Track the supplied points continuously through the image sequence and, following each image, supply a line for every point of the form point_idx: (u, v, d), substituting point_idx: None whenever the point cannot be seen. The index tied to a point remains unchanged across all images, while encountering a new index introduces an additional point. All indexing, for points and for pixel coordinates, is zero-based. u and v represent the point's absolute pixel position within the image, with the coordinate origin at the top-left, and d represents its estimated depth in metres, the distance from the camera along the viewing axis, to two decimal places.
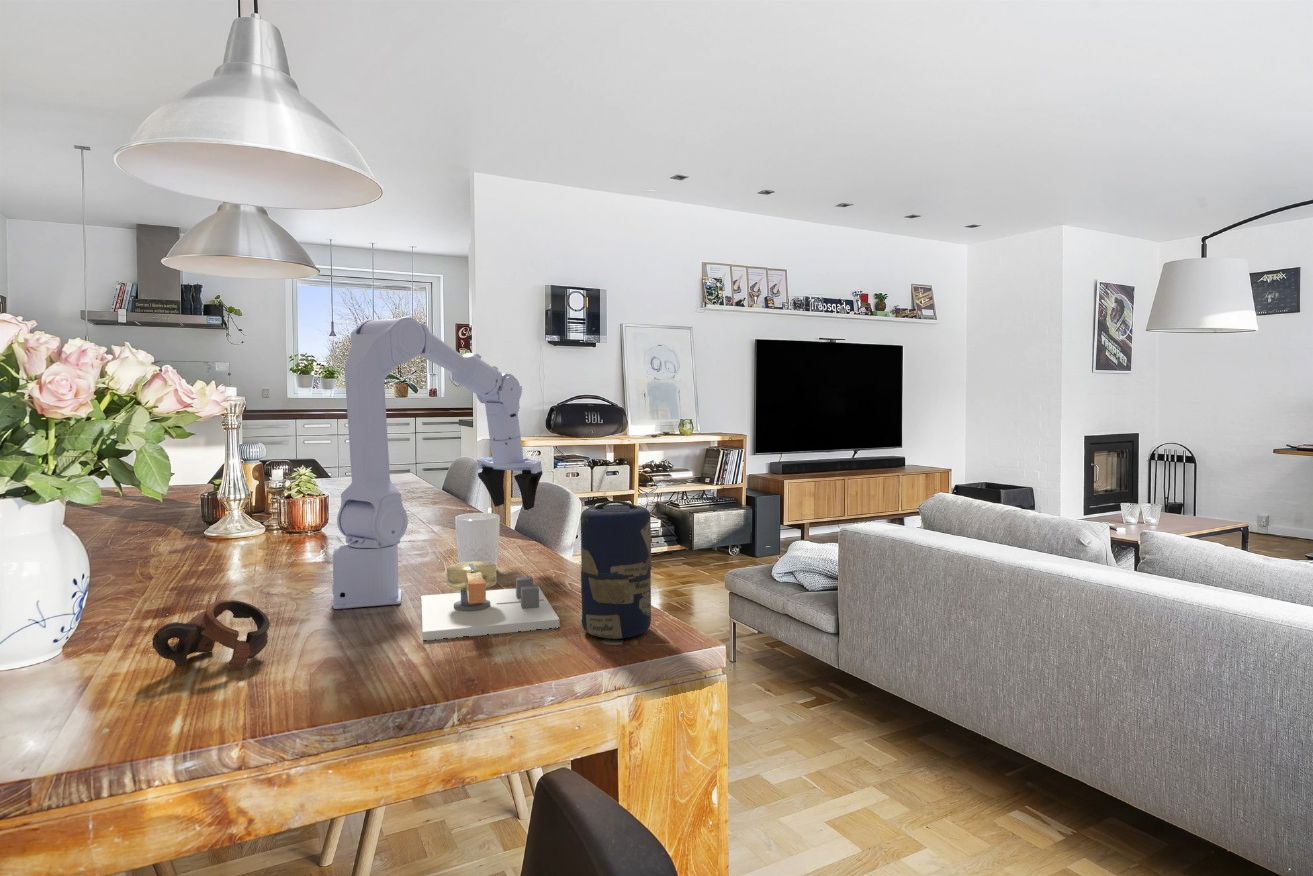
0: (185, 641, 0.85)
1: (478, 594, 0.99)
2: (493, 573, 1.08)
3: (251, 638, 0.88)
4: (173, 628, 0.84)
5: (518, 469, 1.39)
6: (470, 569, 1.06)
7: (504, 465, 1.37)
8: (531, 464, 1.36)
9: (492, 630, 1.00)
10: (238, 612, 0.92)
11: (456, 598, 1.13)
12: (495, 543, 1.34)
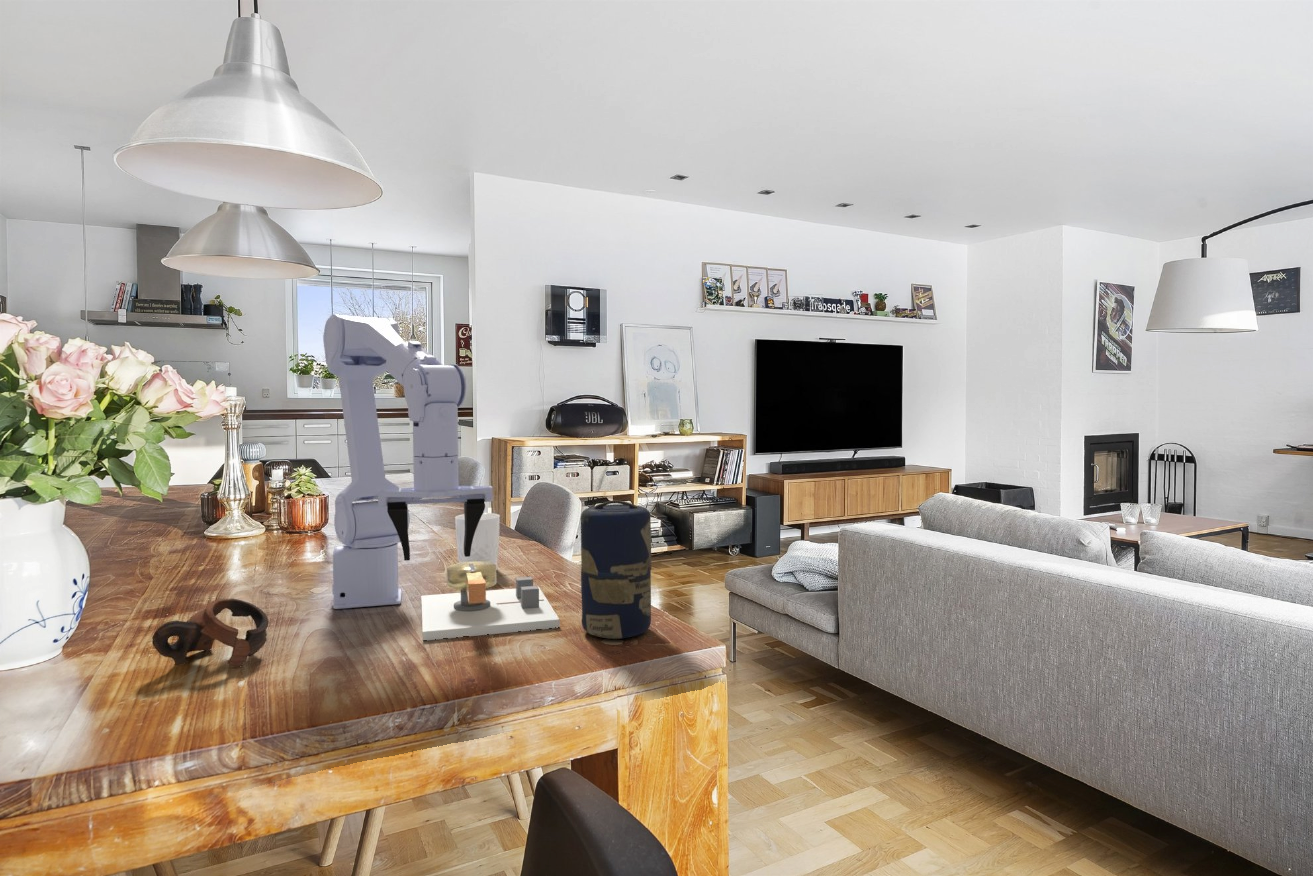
0: (185, 639, 0.86)
1: (478, 594, 0.99)
2: (493, 573, 1.08)
3: (250, 636, 0.88)
4: (173, 626, 0.85)
5: None
6: (470, 569, 1.06)
7: None
8: None
9: (492, 630, 1.00)
10: (237, 610, 0.93)
11: (456, 598, 1.13)
12: (495, 543, 1.34)
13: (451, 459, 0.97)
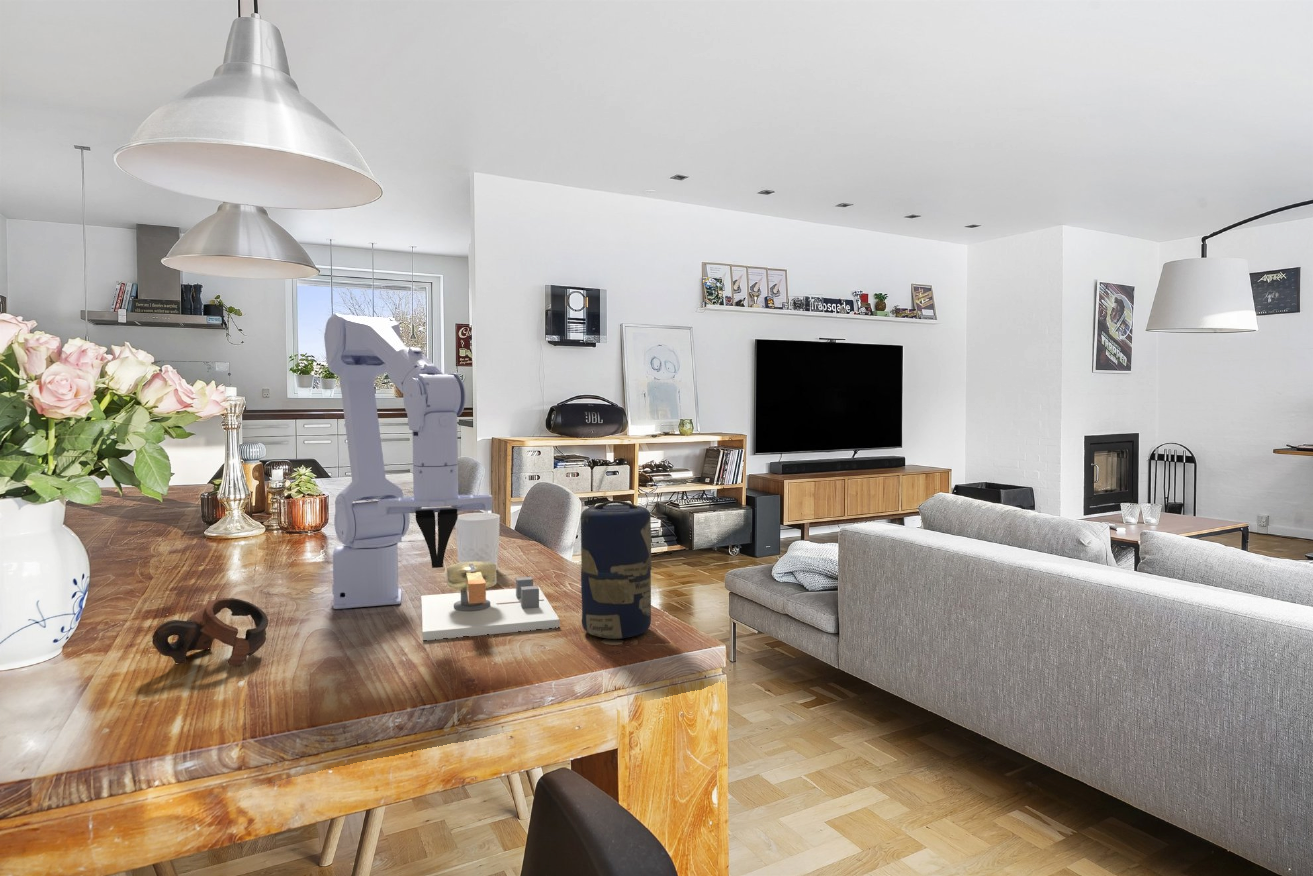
0: (185, 638, 0.86)
1: (478, 594, 0.99)
2: (493, 573, 1.08)
3: (250, 635, 0.89)
4: (173, 625, 0.85)
5: None
6: (470, 569, 1.06)
7: None
8: (383, 500, 0.98)
9: (492, 630, 1.00)
10: (237, 610, 0.93)
11: (456, 598, 1.13)
12: (495, 543, 1.34)
13: (451, 468, 0.97)
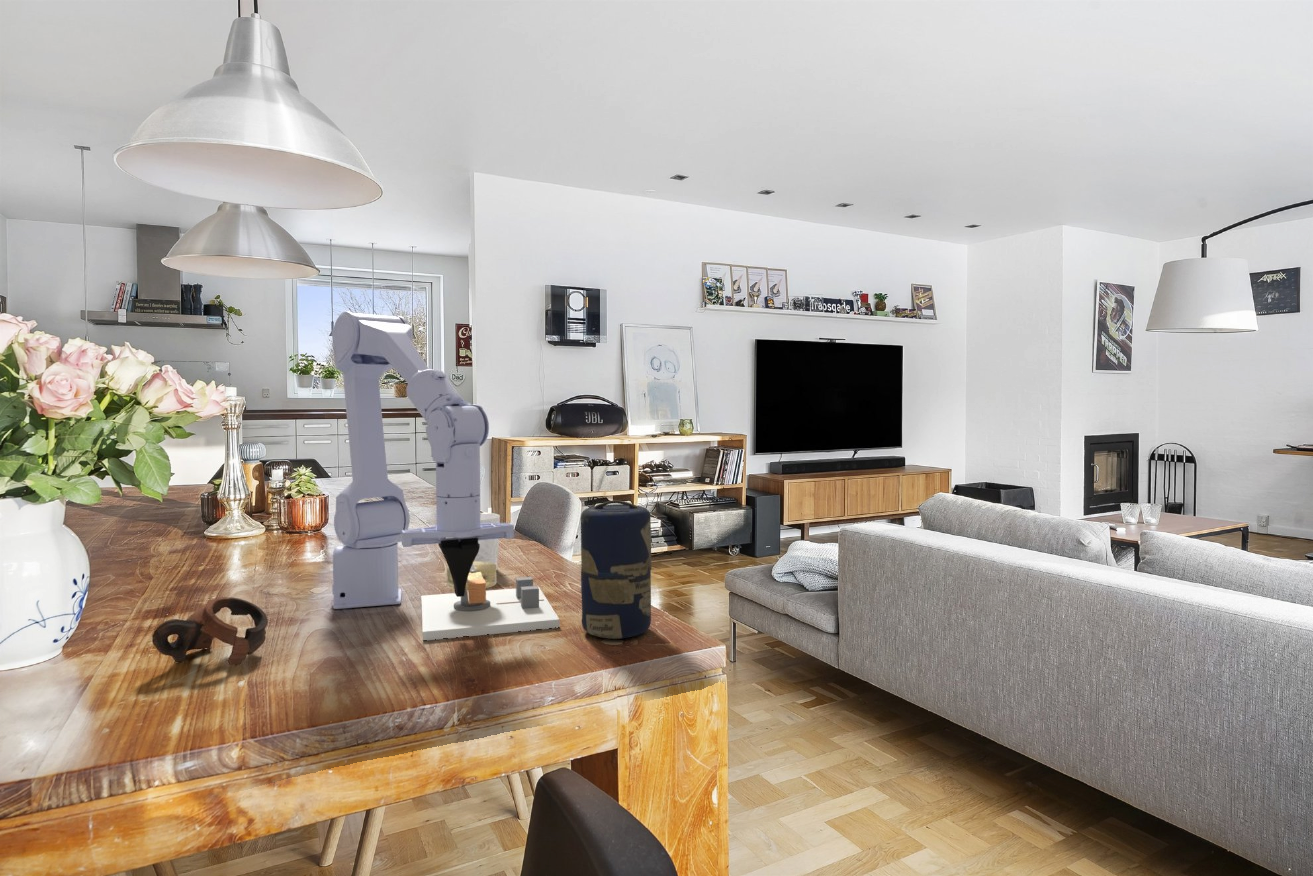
0: (185, 638, 0.86)
1: (478, 594, 0.99)
2: (493, 573, 1.08)
3: (250, 634, 0.89)
4: (173, 624, 0.86)
5: None
6: (470, 569, 1.06)
7: None
8: None
9: (492, 630, 1.00)
10: (236, 609, 0.94)
11: (456, 598, 1.13)
12: (495, 543, 1.34)
13: (475, 499, 0.99)
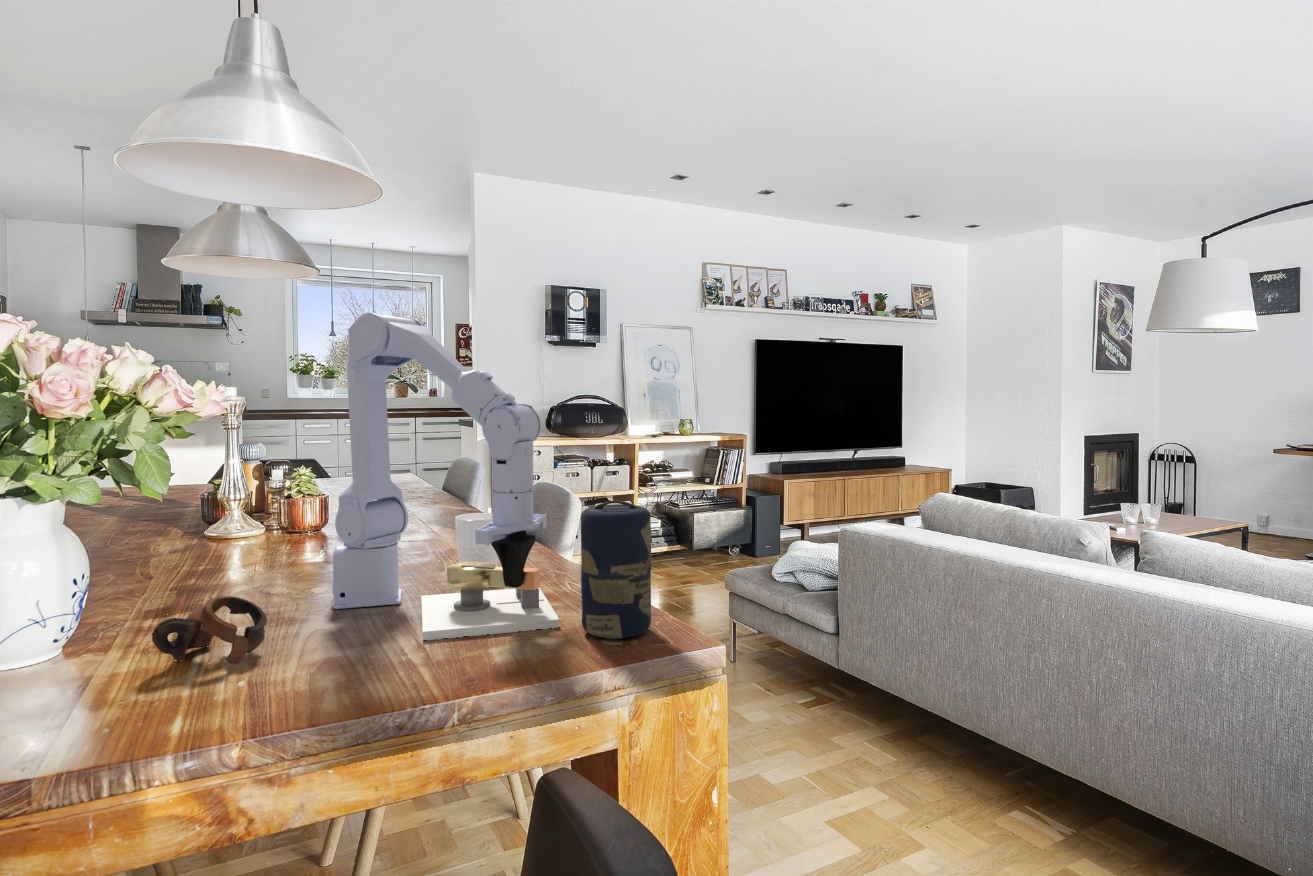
0: (184, 636, 0.87)
1: (537, 580, 1.06)
2: None
3: (249, 633, 0.89)
4: (173, 623, 0.86)
5: None
6: (483, 567, 1.08)
7: None
8: None
9: (492, 630, 1.00)
10: (235, 608, 0.94)
11: (456, 598, 1.13)
12: None
13: None
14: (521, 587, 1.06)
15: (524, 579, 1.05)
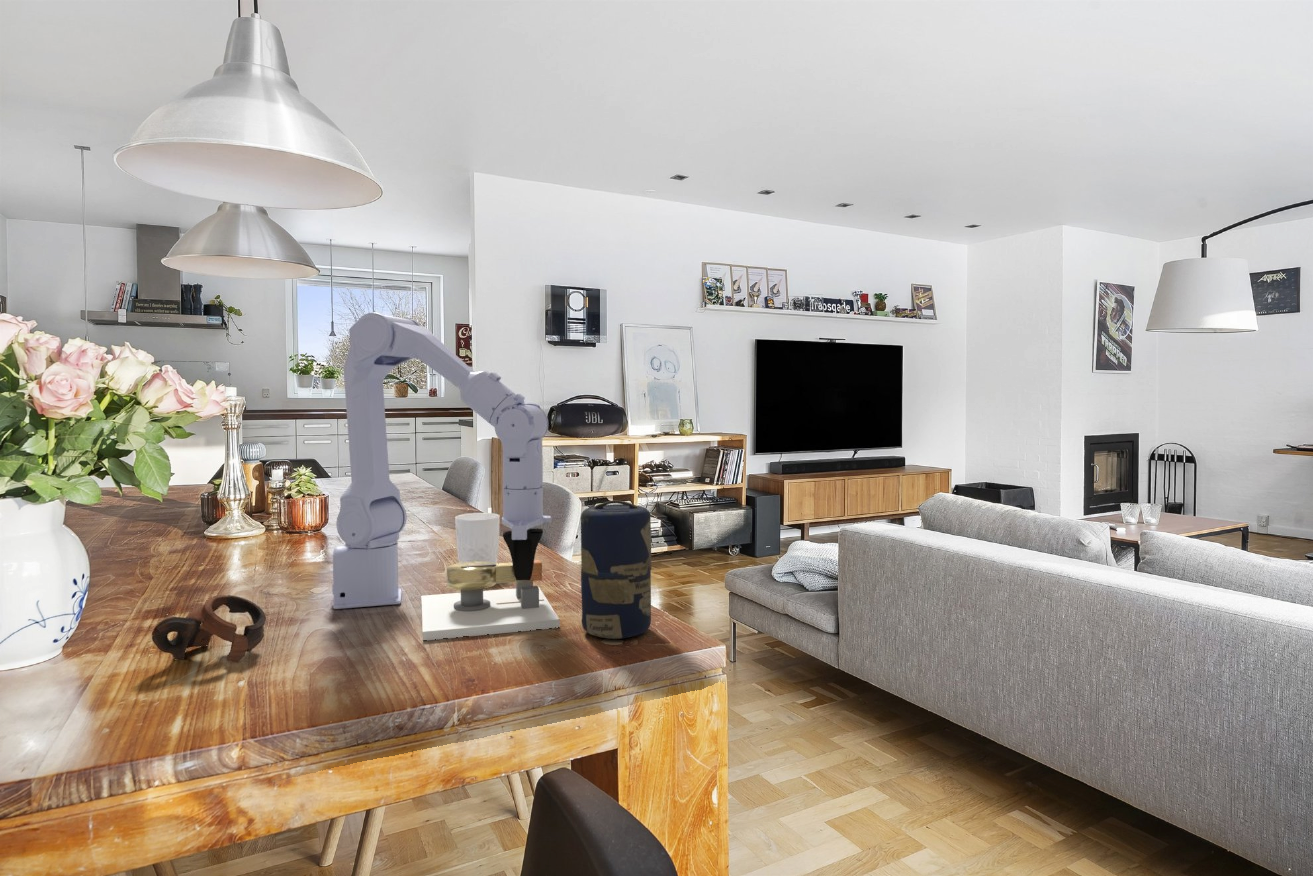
0: (184, 635, 0.87)
1: None
2: None
3: (249, 632, 0.90)
4: (173, 622, 0.87)
5: None
6: (485, 565, 1.09)
7: (503, 521, 1.07)
8: (511, 526, 1.02)
9: (492, 630, 1.00)
10: (234, 607, 0.94)
11: (456, 598, 1.13)
12: (495, 543, 1.34)
13: None
14: None
15: (532, 571, 1.10)
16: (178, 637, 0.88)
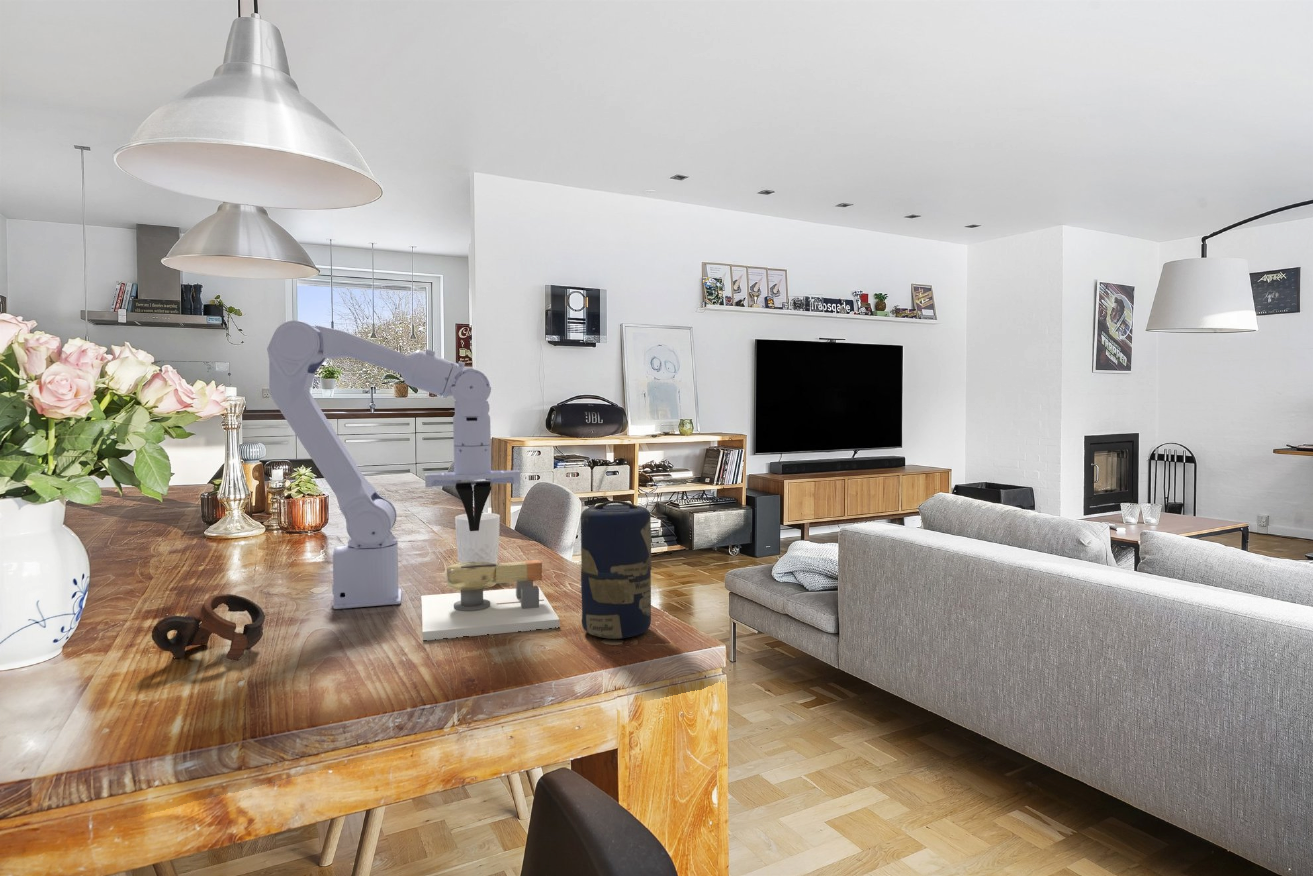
0: (184, 633, 0.88)
1: None
2: None
3: (248, 630, 0.90)
4: (172, 620, 0.87)
5: None
6: (485, 565, 1.09)
7: None
8: None
9: (492, 630, 1.00)
10: (233, 606, 0.95)
11: (456, 598, 1.13)
12: (495, 543, 1.34)
13: (485, 448, 1.17)
14: (529, 579, 1.10)
15: (532, 571, 1.10)
16: (178, 636, 0.89)
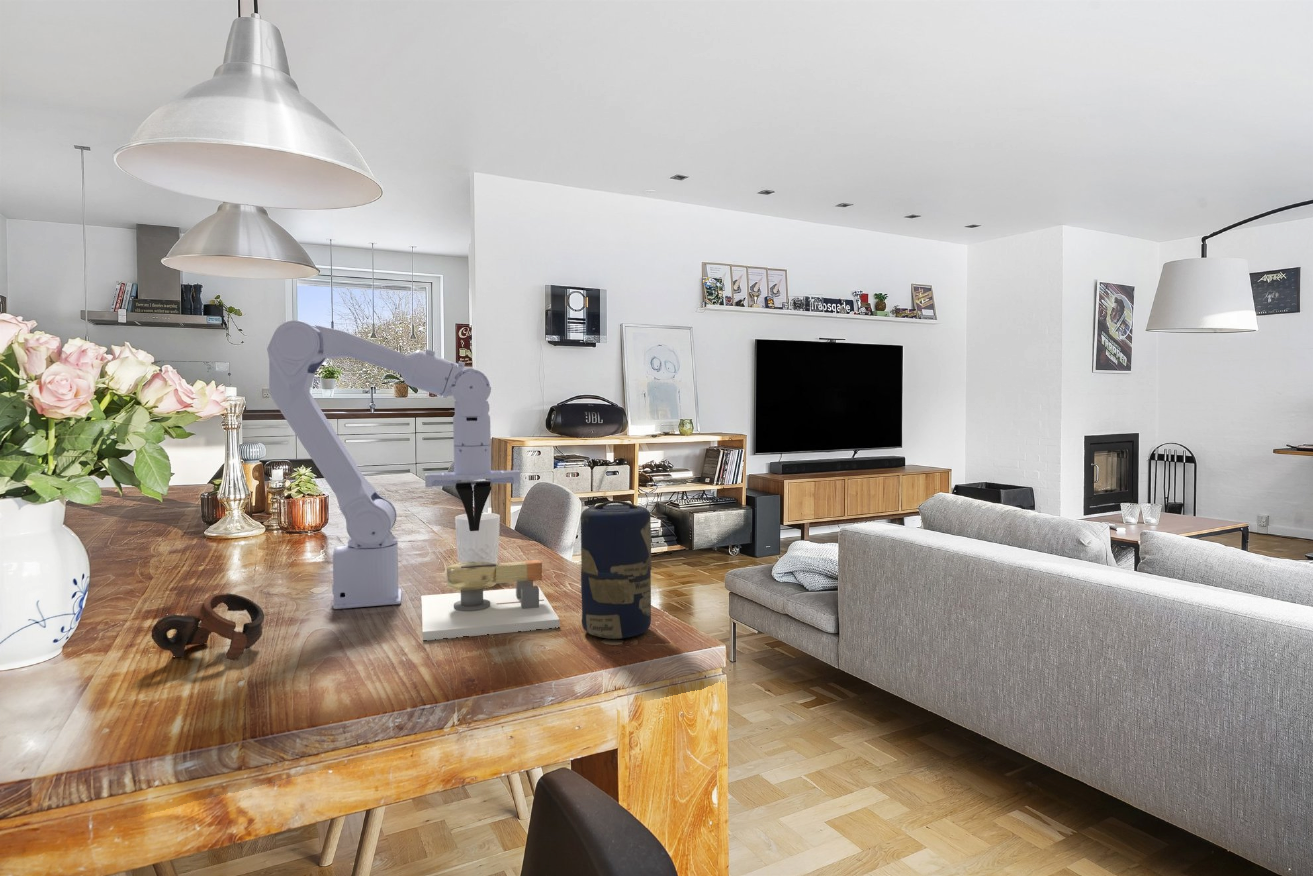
0: (183, 632, 0.88)
1: None
2: None
3: (247, 629, 0.91)
4: (172, 619, 0.87)
5: None
6: (485, 565, 1.09)
7: None
8: None
9: (492, 630, 1.00)
10: (233, 605, 0.95)
11: (456, 598, 1.13)
12: (495, 543, 1.34)
13: (485, 448, 1.17)
14: (529, 579, 1.10)
15: (532, 571, 1.10)
16: (177, 635, 0.89)
